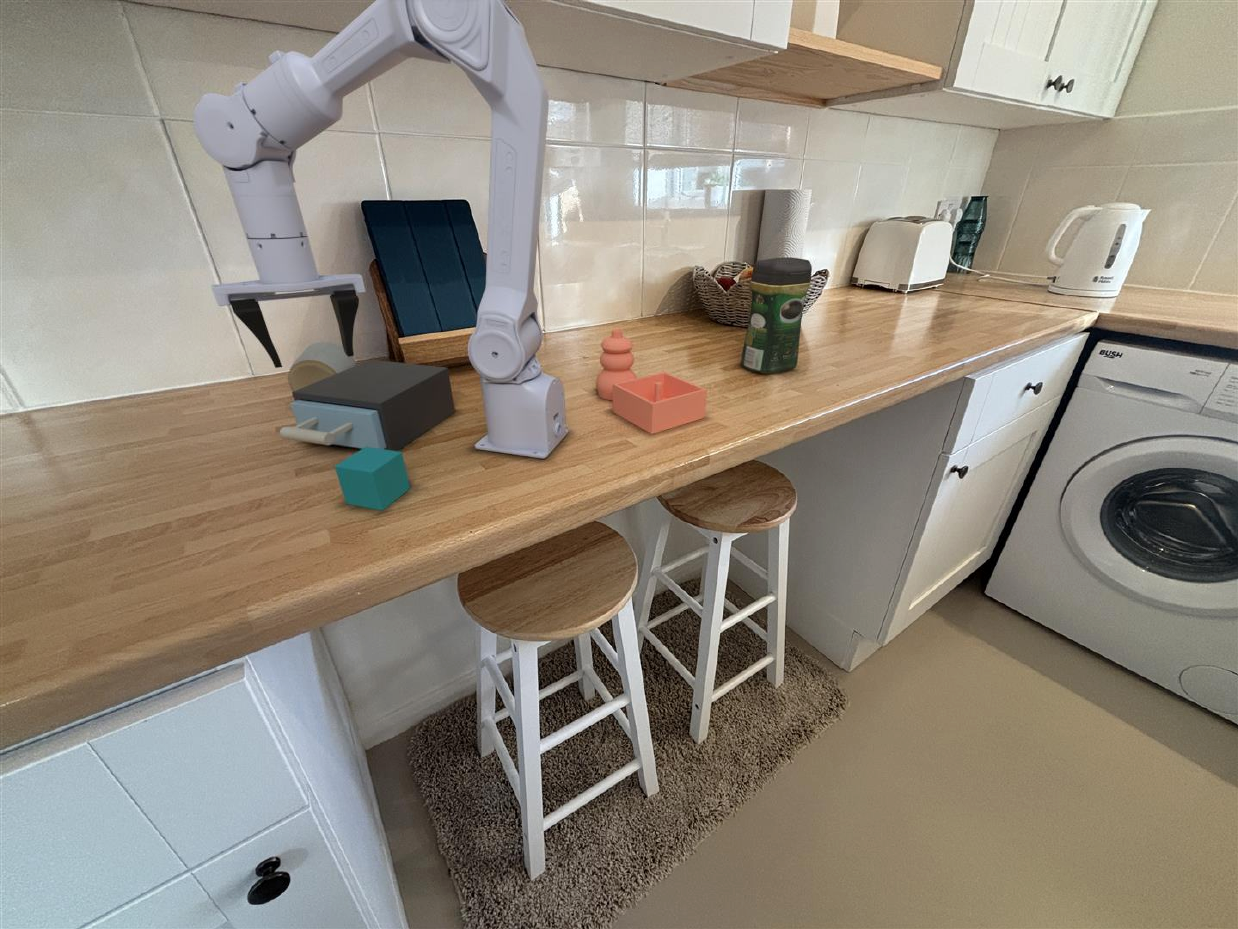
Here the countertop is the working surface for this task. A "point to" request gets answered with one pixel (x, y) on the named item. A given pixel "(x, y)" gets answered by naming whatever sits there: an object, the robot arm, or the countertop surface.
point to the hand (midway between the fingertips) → (315, 359)
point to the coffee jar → (776, 314)
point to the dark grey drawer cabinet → (390, 396)
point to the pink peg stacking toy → (646, 390)
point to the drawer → (335, 425)
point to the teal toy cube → (373, 478)
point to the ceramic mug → (318, 364)
